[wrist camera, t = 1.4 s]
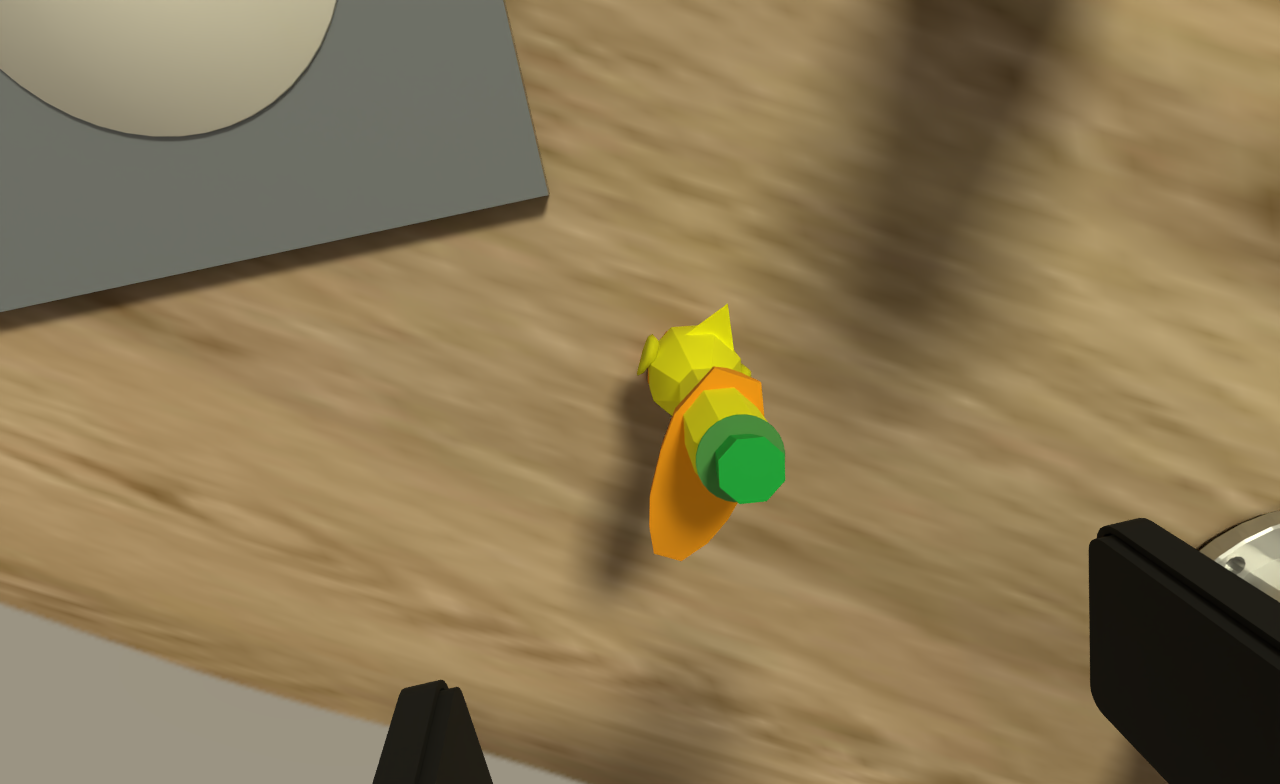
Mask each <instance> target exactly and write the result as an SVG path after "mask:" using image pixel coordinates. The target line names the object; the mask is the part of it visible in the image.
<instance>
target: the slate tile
mask: <svg viewBox="0 0 1280 784" xmlns="http://www.w3.org/2000/svg"><path fill="white" fill-rule="evenodd" d="M549 194H550V193H549V189H548V185H547V180H546V176H545V172H544V167H543V163H542V159H541V155H540V150H539V146H538V142H537V137H536V133H535V129H534V124H533V120H532V116H531V111H530V107H529V103H528V99H527V94H526V90H525V86H524V81H523V77H522V73H521V68H520V64H519V60H518V56H517V51H516V47H515V43H514V38H513V34H512V30H511V25H510V21H509V17H508V12H507V8H506V4H505V0H0V312H3V311H8V310H13V309H17V308H22V307H27V306H31V305H36V304H41V303H45V302H50V301H55V300H60V299H64V298H69V297H74V296H78V295H83V294H88V293H92V292H97V291H102V290H106V289H111V288H116V287H120V286H125V285H130V284H134V283H139V282H144V281H148V280H153V279H158V278H162V277H167V276H172V275H177V274H181V273H186V272H191V271H195V270H200V269H205V268H209V267H214V266H219V265H223V264H228V263H233V262H237V261H242V260H247V259H251V258H256V257H261V256H265V255H270V254H275V253H279V252H284V251H289V250H293V249H298V248H303V247H308V246H312V245H317V244H322V243H326V242H331V241H336V240H340V239H345V238H350V237H354V236H359V235H364V234H368V233H373V232H378V231H382V230H387V229H392V228H396V227H401V226H406V225H410V224H415V223H420V222H424V221H429V220H434V219H439V218H443V217H448V216H453V215H457V214H462V213H467V212H471V211H476V210H481V209H485V208H490V207H495V206H499V205H504V204H509V203H513V202H518V201H523V200H527V199H532V198H537V197H541V196H546V195H549Z"/></svg>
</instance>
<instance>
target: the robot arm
mask: <svg viewBox="0 0 1280 784" xmlns="http://www.w3.org/2000/svg"><path fill="white" fill-rule="evenodd" d="M1089 615H1090V687H1091V692H1092V696H1093V699H1094V701H1095V703H1096V705H1097V707H1098V708H1099V710H1100V711H1101V712H1102V714H1103V715H1104V716H1105V717H1106V718H1107V719H1108V720H1109V721H1110V722H1111V723H1112V724H1113V725H1114V726H1115V728H1116V729H1117V730H1118V731H1119V732H1120V733H1121V734H1122V735H1123V736H1124V737H1125V738H1126V739H1127V740H1128V741H1129V742H1130V743H1131V744H1132V745H1133V746H1134V747H1135V749H1136V750H1137V751H1138V752H1139V753H1140V754H1141V755H1142V756H1143V757H1144V758H1145V759H1146V760H1147V761H1148V762H1149V763H1150V764H1151V765H1152V766H1153V767H1154V768H1155V770H1156V771H1157V772H1158V773H1159V774H1160V775H1161V776H1162V777H1163V778H1164V779H1165V780H1166V781H1167V782H1168V783H1169V784H1280V511H1276V512H1271V513H1267V514H1265V515H1262V516H1260V517H1257V518H1255V519H1252V520H1250V521H1247V522H1244V523H1242V524H1240V525H1238V526H1236V527H1235V528H1233V529H1231V530H1229V531H1228V532H1226V533H1224V534H1222V535H1221V536H1219V537H1217V538H1215V539H1214V540H1213V541H1211V542H1210V543H1209V544H1208V545H1206V546H1205V547H1204V548H1202V549H1201V550H1200V551H1198V550H1196V549H1195V548H1193V547H1192V546H1190V545H1188V544H1187V543H1185V542H1184V541H1182V540H1181V539H1179V538H1177V537H1176V536H1174V535H1173V534H1171V533H1170V532H1168V531H1166V530H1165V529H1163V528H1162V527H1160V526H1159V525H1157V524H1155V523H1154V522H1152V521H1150V520H1148V519H1146V518H1137V519H1133V520H1129V521H1124V522H1120V523H1116V524H1111V525H1107V526H1104V527H1102V528H1100V530H1099V532H1098V533H1097V539H1094V540H1092V541H1091V542H1090V544H1089ZM373 784H493V782H492V779H491V776H490V773H489V770H488V767H487V764H486V761H485V758H484V755H483V752H482V749H481V746H480V744H479V741H478V738H477V735H476V732H475V729H474V726H473V723H472V720H471V717H470V714H469V711H468V708H467V705H466V702H465V699H464V696H463V694H462V691H461V690H460V688H459V687H454V688H450V689H449V688H448V686H447V684H446V683H445V681H443V680H438V681H433V682H429V683H425V684H420V685H416V686H412V687H408V688H404V689H403V690H401V693H400V695H399V698H398V701H397V704H396V707H395V711H394V714H393V717H392V721H391V724H390V727H389V731H388V734H387V738H386V741H385V744H384V747H383V750H382V754H381V757H380V760H379V764H378V767H377V770H376V774H375V777H374V780H373Z"/></svg>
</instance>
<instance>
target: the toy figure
mask: <svg viewBox="0 0 1280 784" xmlns="http://www.w3.org/2000/svg"><path fill="white" fill-rule="evenodd" d="M647 368H648V384H649V387H650V391H651V394H652V397H653V400H654V402H656V403H657V404H658V405H659V406H660V407H662V408H663V409H664V410H665V411H666V412H668V413H669V414H670V415H671V416H672V418H671V421H670V423H669V426H668V429H667V431H666V434H665V437H664V440H663V442H662V445H661V450H660V454H659V458H658V462H657V466H656V470H655V474H654V478H653V482H652V486H651V491H650V520H649V528H650V533H651V539H652V545H653V550H654V554H657V555H661V556H665V557H668V558H672V559H676V560H679V561H682V560H684V559H685V558H687V557H688V556H690V555H691V554H692V553H694V552H695V551H697V550H698V549H700V548H701V547H703V546H704V545H706V544H707V543H708V542H709V541H710V540H711V539H712V538H713V536H714V535H715V534H716V533H717V532H718V531H719V529H720V528H721V527H722V526H723V525H724V524H725V523H726V521H727V520H728V519H729V517H730V515H731V513H732V512H733V510H734V508H735V506H736V505H737V503H739V504H744V503H754V502H764V501H767V500H768V499H769V498H770V497H771V496H772V495H773V494H774V493H775V491H776V490H777V489H778V488H779V487H780V486H781V485H782V484H783V483H784V481H785V450H784V445H783V442H782V439H781V437H780V435H779V433H778V432H777V431H776V430H775V428H774V427H773V426H772V425H770V424H769V423H768V422H767V420H766V419H765V418H764V409H763V398H762V387H761V382H760V381H758V380H756V379H754V378H752V377H751V371H750V370H749V369H748V368H747V367H745V366H744V365H743V364H741V359H740V357H739V356H738V355H737V354H736V352H735V351H734V348H733V341H732V333H731V325H730V317H729V310H728V304H726V305H725V306H724V307H722V308H721V309H720V310H718V311H717V312H716V313H714V314H713V315H711V316H710V317H709V318H707V319H706V320H705V321H703V322H702V323H701V324H699V325H697V326H683V327H671V328H670V329H669V330H668V331H666V333H665V334H664V336H663V337H662V338H661V339H660V340H659V341H658V340H657V339H656V338H655V337H654V335H653V334H652V335H650V336H648V338H647V340H646V343H645V345H644V348H643V351H642V355H641V359H640V363H639V367H638V371H637V376H638V375H640V374H642V373H644V371H645V370H646V369H647Z"/></svg>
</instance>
